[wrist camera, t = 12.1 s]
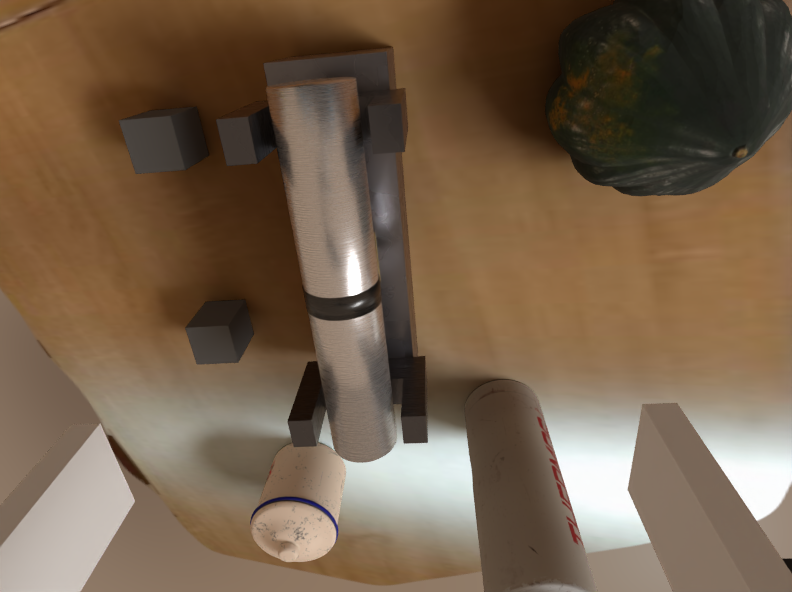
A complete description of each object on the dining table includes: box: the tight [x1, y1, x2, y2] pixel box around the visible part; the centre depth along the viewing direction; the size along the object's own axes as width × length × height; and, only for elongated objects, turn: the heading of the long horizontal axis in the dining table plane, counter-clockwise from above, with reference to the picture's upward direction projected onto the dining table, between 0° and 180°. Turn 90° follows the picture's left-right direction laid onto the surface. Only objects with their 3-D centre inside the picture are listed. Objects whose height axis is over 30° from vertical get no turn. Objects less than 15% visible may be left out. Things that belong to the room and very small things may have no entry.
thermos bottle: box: [465, 380, 598, 592], centre depth 43 cm, size 8×8×28 cm
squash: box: [545, 0, 792, 196], centre depth 35 cm, size 14×15×15 cm
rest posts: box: [119, 107, 254, 364], centre depth 45 cm, size 22×4×5 cm, turn 5°
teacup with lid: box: [250, 443, 346, 562], centre depth 56 cm, size 12×9×12 cm
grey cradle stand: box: [216, 47, 428, 447], centre depth 40 cm, size 28×10×16 cm, turn 5°
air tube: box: [266, 77, 397, 462], centre depth 35 cm, size 26×5×5 cm, turn 5°
